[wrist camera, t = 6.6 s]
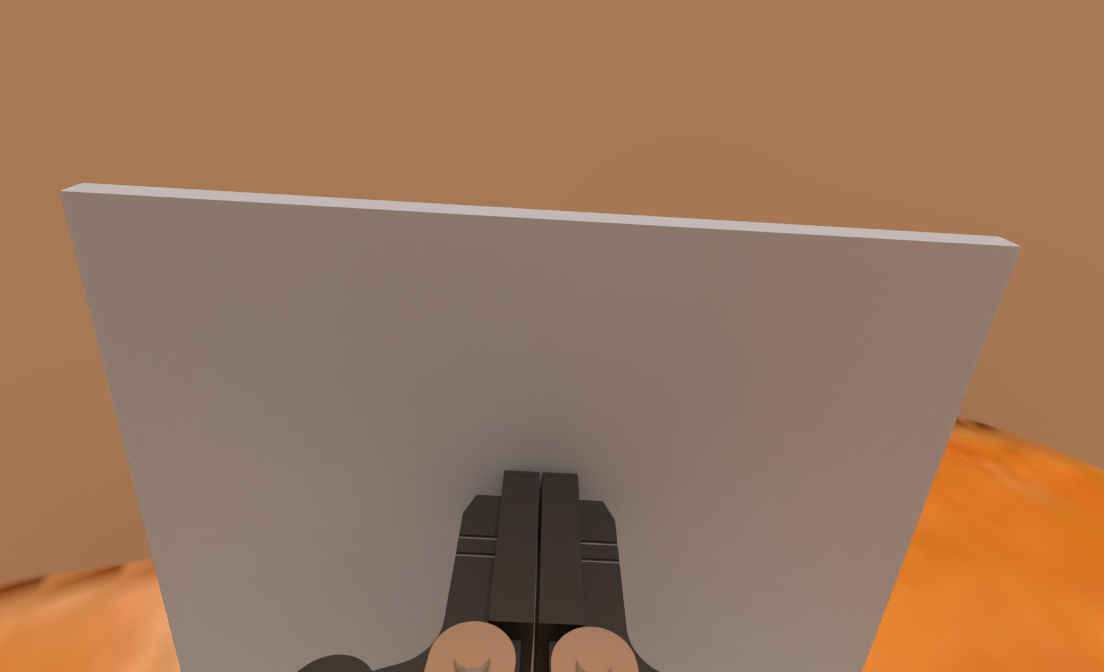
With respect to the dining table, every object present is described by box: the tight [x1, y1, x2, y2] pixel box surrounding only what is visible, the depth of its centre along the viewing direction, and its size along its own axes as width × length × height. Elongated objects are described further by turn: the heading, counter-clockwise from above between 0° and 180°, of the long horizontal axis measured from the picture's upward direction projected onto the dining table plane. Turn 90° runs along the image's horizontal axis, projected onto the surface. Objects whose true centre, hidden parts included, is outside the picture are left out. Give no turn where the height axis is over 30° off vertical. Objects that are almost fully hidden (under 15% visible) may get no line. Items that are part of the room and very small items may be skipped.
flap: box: [60, 183, 1021, 672], centre depth 14 cm, size 16×1×12 cm, turn 90°
